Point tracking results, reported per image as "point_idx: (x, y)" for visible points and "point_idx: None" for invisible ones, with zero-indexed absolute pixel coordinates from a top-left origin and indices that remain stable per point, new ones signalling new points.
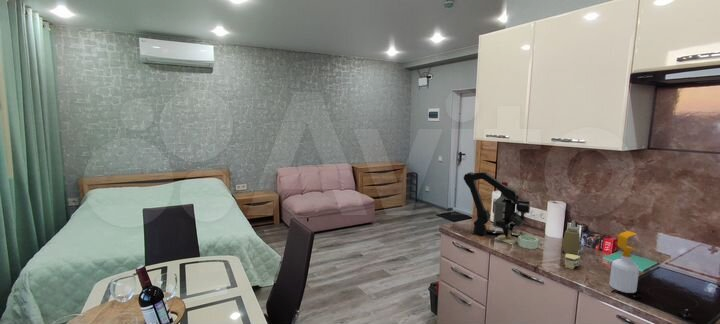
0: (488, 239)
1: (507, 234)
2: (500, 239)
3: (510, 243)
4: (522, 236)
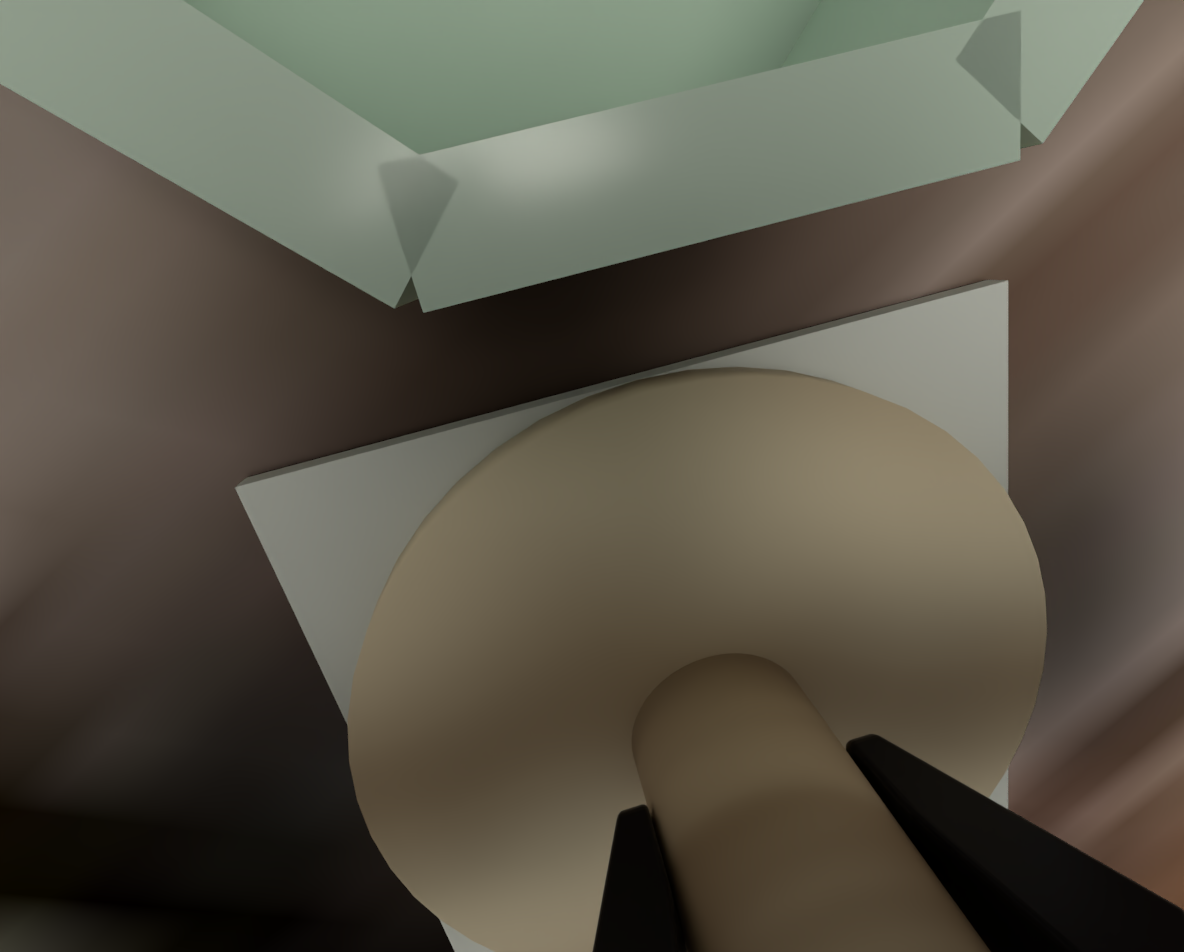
0: (1140, 807)
1: (963, 796)
2: (1021, 688)
3: (984, 334)
4: (474, 161)
